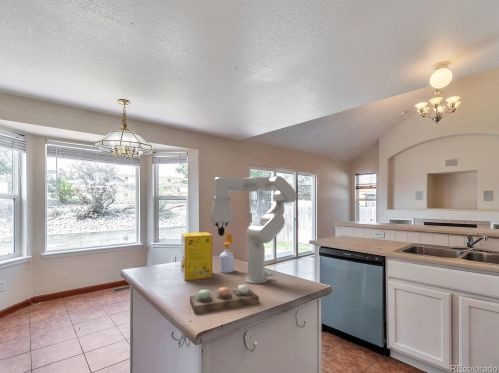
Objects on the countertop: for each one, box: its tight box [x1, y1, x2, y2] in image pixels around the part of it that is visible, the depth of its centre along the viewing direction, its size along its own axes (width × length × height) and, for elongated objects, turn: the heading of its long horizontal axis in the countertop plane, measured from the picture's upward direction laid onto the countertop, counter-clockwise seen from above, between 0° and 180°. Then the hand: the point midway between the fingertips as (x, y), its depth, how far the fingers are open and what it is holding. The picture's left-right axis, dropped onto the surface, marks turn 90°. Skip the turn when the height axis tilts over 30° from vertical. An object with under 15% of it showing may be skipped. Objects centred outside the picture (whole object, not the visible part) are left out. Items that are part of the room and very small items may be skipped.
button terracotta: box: [218, 286, 231, 296], centre depth 114 cm, size 5×5×2 cm
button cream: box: [237, 284, 250, 293], centre depth 118 cm, size 5×5×2 cm
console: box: [189, 288, 260, 315], centre depth 114 cm, size 28×12×4 cm, turn 111°
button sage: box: [197, 288, 210, 299], centre depth 111 cm, size 5×5×2 cm
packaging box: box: [180, 231, 213, 281], centre depth 159 cm, size 16×16×25 cm
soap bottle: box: [219, 232, 235, 274], centre depth 168 cm, size 9×9×25 cm
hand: (221, 235), depth 136 cm, fingers closed
